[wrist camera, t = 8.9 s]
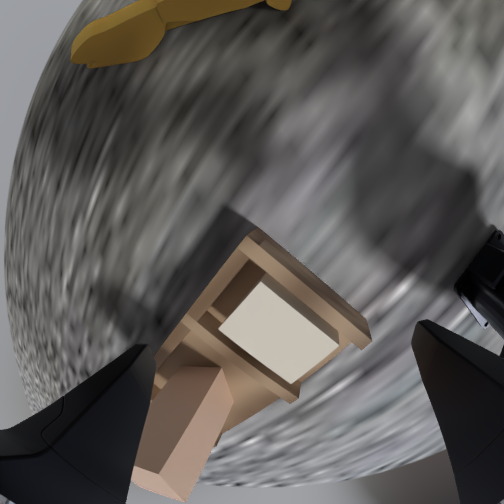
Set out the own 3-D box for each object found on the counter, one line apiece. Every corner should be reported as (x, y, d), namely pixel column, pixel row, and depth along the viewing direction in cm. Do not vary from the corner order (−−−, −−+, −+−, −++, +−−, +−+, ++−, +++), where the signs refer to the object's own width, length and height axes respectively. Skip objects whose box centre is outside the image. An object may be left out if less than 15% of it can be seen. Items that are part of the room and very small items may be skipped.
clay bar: (221, 367, 22) (158, 474, 11) (233, 401, 23) (185, 502, 12) (179, 365, 24) (108, 455, 12) (194, 398, 24) (137, 486, 13)
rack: (366, 319, 19) (372, 340, 16) (220, 428, 27) (211, 448, 23) (257, 227, 20) (246, 235, 17) (145, 371, 27) (130, 388, 24)
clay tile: (338, 330, 19) (339, 345, 17) (294, 368, 21) (291, 384, 19) (266, 271, 19) (260, 281, 17) (226, 316, 21) (217, 329, 19)
